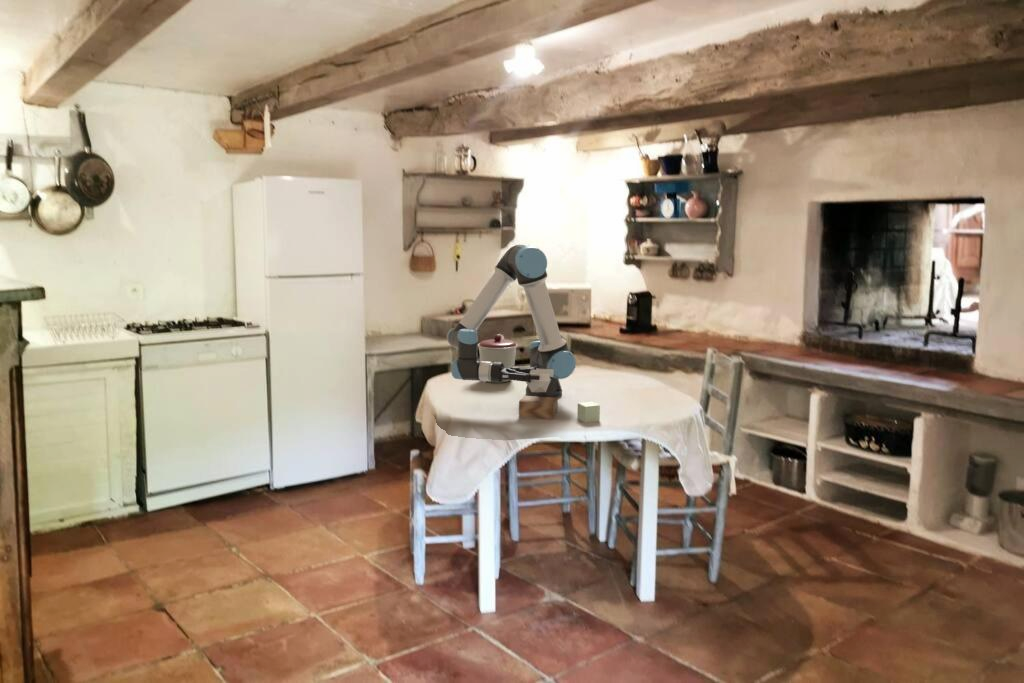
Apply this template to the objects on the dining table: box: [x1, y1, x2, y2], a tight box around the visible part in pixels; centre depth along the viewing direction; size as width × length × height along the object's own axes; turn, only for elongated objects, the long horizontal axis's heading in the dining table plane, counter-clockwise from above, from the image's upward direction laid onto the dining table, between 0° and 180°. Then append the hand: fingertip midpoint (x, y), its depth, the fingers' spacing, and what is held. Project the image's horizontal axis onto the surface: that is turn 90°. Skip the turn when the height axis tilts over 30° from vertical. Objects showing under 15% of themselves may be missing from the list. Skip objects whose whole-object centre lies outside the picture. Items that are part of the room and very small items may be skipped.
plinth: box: [518, 395, 559, 420], centre depth 299 cm, size 13×9×6 cm
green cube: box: [576, 401, 601, 423], centre depth 293 cm, size 6×6×6 cm
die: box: [525, 369, 551, 392], centre depth 297 cm, size 8×9×10 cm
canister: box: [478, 334, 519, 384], centre depth 356 cm, size 18×18×21 cm
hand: (550, 375), depth 296 cm, fingers closed on die, 8 cm apart
